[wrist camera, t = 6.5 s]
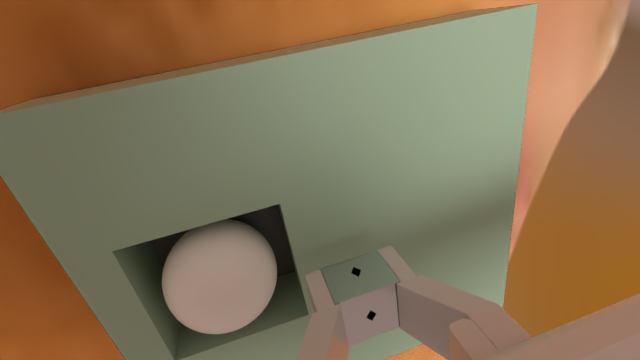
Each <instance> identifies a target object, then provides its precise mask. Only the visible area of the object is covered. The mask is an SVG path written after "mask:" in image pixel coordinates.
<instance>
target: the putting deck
mask: <svg viewBox="0 0 640 360" xmlns="http://www.w3.org/2000/svg"><path fill="white" fill-rule="evenodd" d="M537 7H538V3H536V4H527V5H518V6H508V7H499V8H490V9H481V10H472V11H467V12H462V13H457V14H452V15H447V16H443V17H438V18H433V19H428V20H423V21H418V22H413V23H408V24H403V25H398V26H393V27H388V28H383V29H378V30H373V31H368V32H363V33H358V34H353V35H348V36H343V37H338V38H333V39H329V40H324V41H319V42H314V43H309V44H304V45H299V46H294V47H289V48H284V49H279V50H274V51H269V52H264V53H259V54H254V55H249V56H244V57H239V58H234V59H229V60H224V61H219V62H215V63H210V64H205V65H200V66H195V67H190V68H185V69H180V70H175V71H170V72H165V73H160V74H155V75H150V76H145V77H140V78H135V79H130V80H125V81H120V82H115V83H110V84H105V85H101V86H96V87H91V88H86V89H81V90H76V91H71V92H66V93H61V94H56V95H51V96H46V97H41V98H36V99H31V100H28V101H25V102H22V103H19V104H16V105H13V106H9V107H6V108H3V109H0V176H1V178H2V179H3V181H4V182H5V184H6V185H7V186H8V188H9V189H10V191H11V192H12V194H13V195H14V197H15V198H16V200H17V201H18V203H19V204H20V206H21V207H22V209H23V210H24V211H25V213H26V214H27V216H28V217H29V219H30V220H31V222H32V223H33V225H34V226H35V228H36V229H37V231H38V232H39V234H40V235H41V236H42V238H43V239H44V241H45V242H46V244H47V245H48V247H49V248H50V250H51V251H52V253H53V254H54V256H55V257H56V259H57V260H58V261H59V263H60V264H61V266H62V267H63V269H64V270H65V272H66V273H67V275H68V276H69V278H70V279H71V281H72V282H73V284H74V285H75V286H76V288H77V289H78V291H79V292H80V294H81V295H82V297H83V298H84V300H85V301H86V303H87V304H88V306H89V307H90V309H91V310H92V312H93V313H94V314H95V316H96V317H97V319H98V320H99V322H100V323H101V325H102V326H103V328H104V329H105V331H106V332H107V334H108V335H109V337H110V338H111V339H112V341H113V342H114V344H115V345H116V347H117V348H118V350H119V351H120V353H121V354H122V356H123V357H124V359H125V360H296V358H297V356H298V353H299V350H300V347H301V344H302V342H303V339H304V336H305V333H306V330H307V328H308V325H309V322H310V319H311V316H312V314H313V313H314V311H313V307H312V303H311V300H310V296H309V292H308V288H307V284H306V280H305V275H304V273H308V272H311V271H314V270H317V269H319V270H320V268H323V267H326V266H330V265H333V264H336V263H339V262H343V261H346V260H349V259H352V258H355V257H358V256H361V255H364V254H367V253H370V252H372V251H376V250H378V249H380V248H383V247H386V246H389V245H390V246H392V247H393V248H394V249H395V250H396V251H397V253H398V254H399V255H400V256H401V257H402V259H403V260H404V261H405V262H406V264H407V265H408V266H409V267H410V268H411V270H412V271H413V272H414V273H415V274H416V276H419V275H423V276H426V277H428V278H431V279H434V280H436V281H439V282H441V283H444V284H447V285H449V286H452V287H455V288H457V289H460V290H462V291H465V292H468V293H470V294H473V295H476V296H478V297H481V298H484V299H486V300H489V301H491V302H494V303H497V304H498V305H499V306H500V307H501V308H502V309H503V300H504V292H505V283H506V274H507V266H508V257H509V249H510V240H511V231H512V223H513V214H514V205H515V197H516V188H517V180H518V171H519V162H520V154H521V145H522V136H523V128H524V119H525V110H526V102H527V93H528V84H529V76H530V67H531V58H532V50H533V41H534V33H535V24H536V15H537ZM224 219H225V220H235V221H239V222H243V223H245V224H247V225H250V226H251V227H253V228H254V229H256V230H257V231H259V232H260V233H261V234H262V235H263V236H264V237H265V238H266V240H267V241H268V243H269V244H270V246H271V248H272V250H273V252H274V255H275V258H276V263H277V281H276V286H275V289H274V293H273V295H272V297H271V299H270V301H269V303H268V305H267V306H266V308H265V309H264V310H263V311H262V313H261V314H260V315H259V316H258V317H257V318H256V319H254V320H253V321H252V322H250V323H249V324H248V325H246V326H244V327H242V328H240V329H238V330H236V331H233V332H229V333H224V334H206V333H201V332H197V331H195V330H192V329H190V328H188V327H186V326H185V325H183V324H182V323H181V322H180V321H178V320H177V319H176V317H175V316H174V315H173V314H172V313H171V311H170V309H169V308H168V306H167V304H166V301H165V298H164V295H163V290H162V274H163V268H164V264H165V262H166V259H167V256H168V254H169V253H170V251H171V249H172V248H173V246H174V245H175V244H176V242H177V241H178V240H179V239H180V238H181V237H182V236H183V235H184V234H185V233H187V232H188V231H190V230H191V229H193V228H196V227H200V226H203V225H207V224H210V223H214V222H217V221H221V220H224ZM422 344H423V343H422V342H420V341H418V340H417V339H415V338H414V337H412V336H411V335H409V334H408V333H406V332H405V331H403V330H401V329H400V328H397V329H394V330H391V331H388V332H385V333H382V334H380V335H377V336H374V337H371V338H369V339H367V340H364V341H362V342H359V343H357V344H354V345H352V346H350V347H349V348H350V349H349V355H348V360H384V359H386V358H389V357H391V356H394V355H397V354H399V353H402V352H404V351H407V350H409V349H412V348H415V347H417V346H420V345H422Z"/></svg>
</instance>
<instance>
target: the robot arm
mask: <svg viewBox="0 0 640 360" xmlns="http://www.w3.org/2000/svg"><path fill="white" fill-rule="evenodd" d="M304 275H305V280H306V284H307V288H308V292H309V296H310V300H311V303H312V307H313V311H314V313H313V314H312V316H311V319H310V322H309V325H308V328H307V330H306V333H305V336H304V339H303V342H302V344H301V347H300V350H299V353H298V356H297V358H296V360H348V355H349V349H350V348H349V347H350V346H352V345H354V344H357V343H359V342H362V341H364V340H367V339H369V338H371V337H374V336H377V335H380V334H382V333H385V332H388V331H391V330H394V329H397V328H400V329H401V330H403V331H405V332H406V333H408V334H409V335H411V336H412V337H414V338H415V339H417V340H418V341H420V342H422V343H423V344H425V345H426V346H428V347H429V348H431V349H432V350H434V351H435V352H437V353H439V354H440V355H442V356H443V357H445V358H446V359H448V360H640V293H639V294H637V295H634V296H632V297H629V298H627V299H625V300H622V301H620V302H617V303H615V304H613V305H610V306H608V307H605V308H603V309H601V310H598V311H596V312H594V313H591V314H589V315H586V316H584V317H582V318H579V319H577V320H574V321H572V322H570V323H567V324H565V325H562V326H560V327H558V328H555V329H553V330H551V331H548V332H546V333H543V334H541V335H539V336H536V337H534V338H532V337H531V336H530V335H529V334H528V333H527V332H526V331H525V330H524V329H523V328H522V327H521V326H520V325H519V324H518V323H517V322H516V321H515V320H514V319H513V318H512V317H511V316H509V314H508V313H507V312H505V310H503V309H502V308H501V307H500V306H499V305H498V304H497V303H494V302H491V301H489V300H486V299H484V298H481V297H478V296H476V295H473V294H470V293H468V292H465V291H462V290H460V289H457V288H455V287H452V286H449V285H447V284H444V283H441V282H439V281H436V280H434V279H431V278H428V277H426V276H423V275H419V276H416V274H415V273H414V272H413V271H412V270H411V268H410V267H409V266H408V265H407V264H406V262H405V261H404V260H403V259H402V257H401V256H400V255H399V254H398V253H397V251H396V250H395V249H394V248H393V247H392V246H390V245H389V246H386V247H383V248H380V249H378V250H376V251H372V252H370V253H367V254H364V255H361V256H358V257H355V258H352V259H349V260H346V261H343V262H339V263H336V264H333V265H330V266H326V267H323V268H320V270H319V269H317V270H314V271H311V272H308V273H304Z"/></svg>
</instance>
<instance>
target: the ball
mask: <svg viewBox="0 0 640 360" xmlns="http://www.w3.org/2000/svg"><path fill="white" fill-rule="evenodd" d="M276 281H277V263H276V258H275V255H274V252H273V250H272V248H271V246H270V244H269V243H268V241H267V240H266V238H265V237H264V236H263V235H262V234H261V233H260V232H259V231H257V230H256V229H254V228H253V227H251V226H250V225H247V224H245V223H243V222H239V221H235V220H225V219H224V220H221V221H217V222H214V223H210V224H207V225H203V226H200V227H196V228H193V229H191V230H190V231H188V232H187V233H185V234H184V235H183V236H182V237H181V238H180V239H179V240H178V241H177V242H176V244H175V245H174V246H173V248H172V249H171V251H170V253H169V254H168V256H167V259H166V262H165V264H164V268H163V274H162V290H163V295H164V298H165V301H166V304H167V306H168V308H169V309H170V311H171V313H172V314H173V315H174V316H175V317H176V319H177V320H178V321H180V322H181V323H182V324H183V325H185V326H186V327H188V328H190V329H192V330H195V331H197V332H201V333H206V334H224V333H229V332H233V331H236V330H238V329H240V328H242V327H244V326H246V325H248V324H249V323H250V322H252V321H253V320H254V319H256V318H257V317H258V316H259V315H260V314H261V313H262V311H263V310H264V309H265V308H266V306H267V305H268V303H269V301H270V299H271V297H272V295H273V293H274V289H275V286H276Z"/></svg>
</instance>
